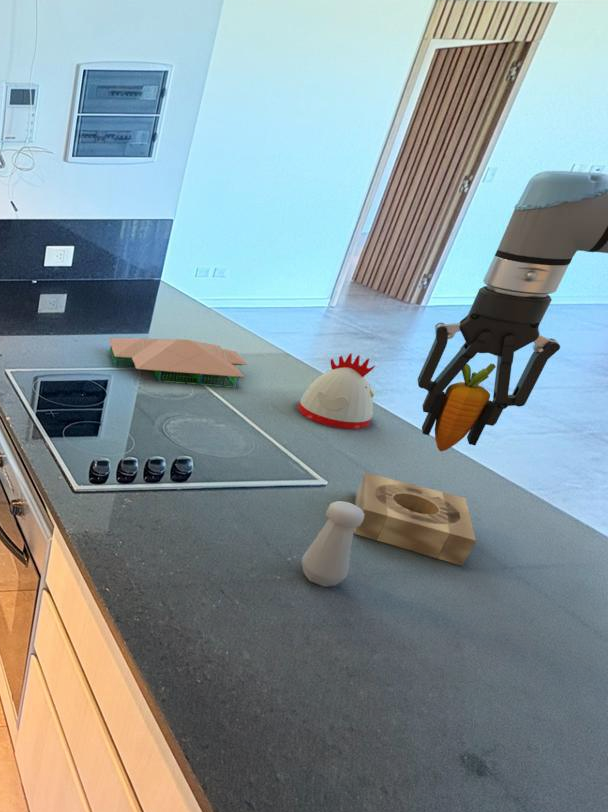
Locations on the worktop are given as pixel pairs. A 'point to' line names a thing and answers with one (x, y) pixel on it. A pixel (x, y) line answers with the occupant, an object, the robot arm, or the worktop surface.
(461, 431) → the carrot
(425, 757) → the worktop surface
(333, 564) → the salt shaker
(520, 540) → the worktop surface
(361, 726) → the worktop surface
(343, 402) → the kitchen timer
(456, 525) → the holder
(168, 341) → the house
